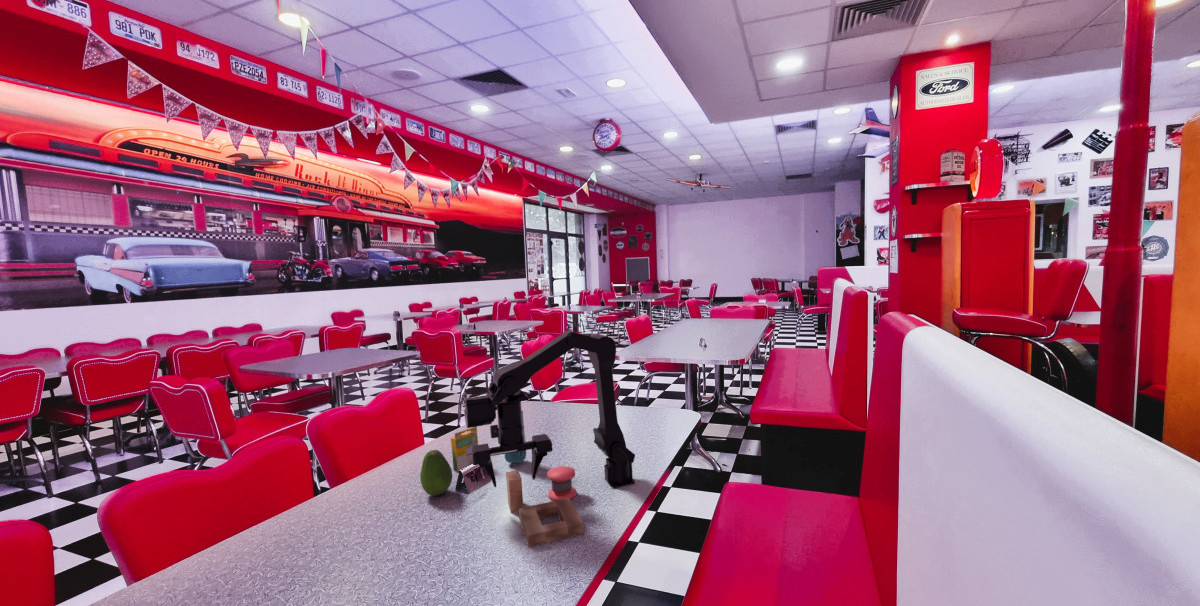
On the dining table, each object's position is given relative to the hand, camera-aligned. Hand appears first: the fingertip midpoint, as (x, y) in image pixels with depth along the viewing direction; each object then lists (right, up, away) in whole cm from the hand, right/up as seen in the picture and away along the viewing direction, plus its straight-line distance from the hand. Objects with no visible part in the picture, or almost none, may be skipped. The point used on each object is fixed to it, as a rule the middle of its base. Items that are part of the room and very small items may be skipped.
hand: (514, 482), depth 115 cm
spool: (+11, -5, +5) cm, 13 cm away
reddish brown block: (0, -6, 0) cm, 6 cm away
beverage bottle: (-4, -4, +26) cm, 27 cm away
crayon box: (-19, -5, +26) cm, 32 cm away
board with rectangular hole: (+10, -6, -9) cm, 15 cm away
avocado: (-22, -7, +9) cm, 24 cm away
